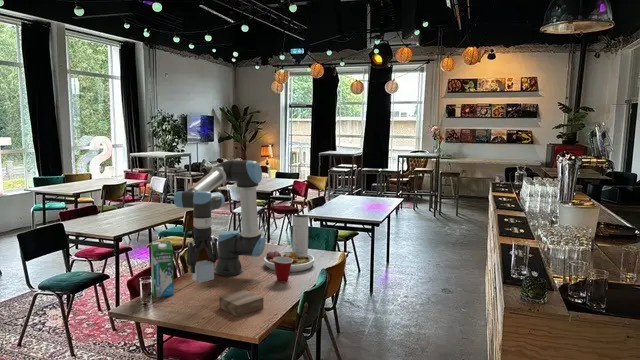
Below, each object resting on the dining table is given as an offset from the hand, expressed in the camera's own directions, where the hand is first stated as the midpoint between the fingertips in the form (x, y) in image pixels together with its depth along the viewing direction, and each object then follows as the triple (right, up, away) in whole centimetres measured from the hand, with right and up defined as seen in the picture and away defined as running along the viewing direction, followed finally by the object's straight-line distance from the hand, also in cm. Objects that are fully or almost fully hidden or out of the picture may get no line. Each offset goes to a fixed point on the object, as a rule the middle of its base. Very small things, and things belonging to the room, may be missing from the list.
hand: (202, 278), depth 195 cm
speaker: (+38, -6, +99) cm, 106 cm away
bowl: (+33, -9, +72) cm, 80 cm away
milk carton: (-25, -12, +21) cm, 36 cm away
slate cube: (0, 0, 0) cm, 0 cm away
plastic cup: (+31, -11, +44) cm, 56 cm away
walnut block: (+16, -15, +5) cm, 22 cm away
